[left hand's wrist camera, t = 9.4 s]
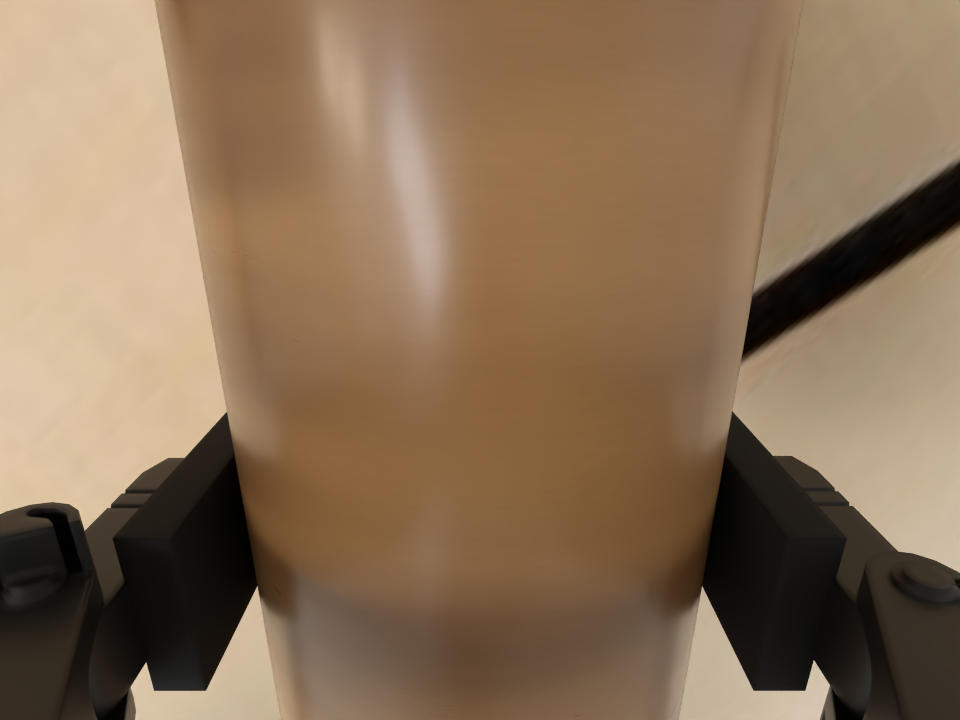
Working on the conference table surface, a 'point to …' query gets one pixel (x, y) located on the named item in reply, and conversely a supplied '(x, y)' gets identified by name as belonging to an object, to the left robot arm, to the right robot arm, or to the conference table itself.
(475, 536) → the rod
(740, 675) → the conference table surface
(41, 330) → the conference table surface
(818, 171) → the conference table surface
